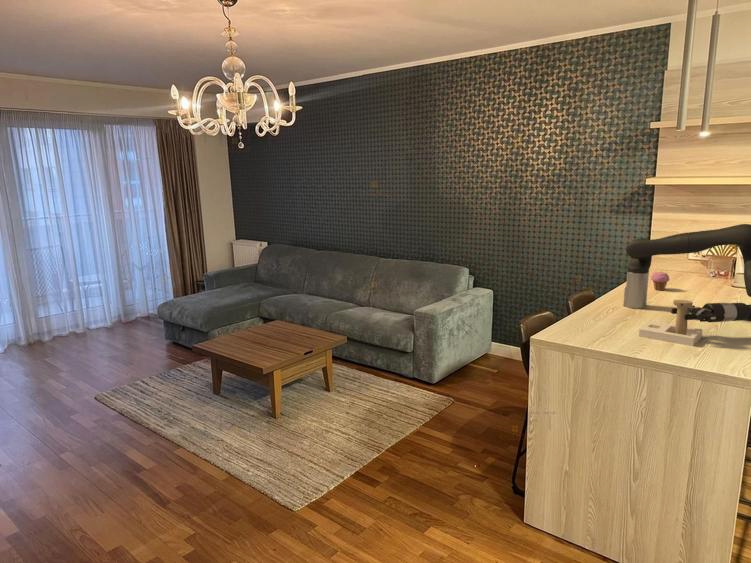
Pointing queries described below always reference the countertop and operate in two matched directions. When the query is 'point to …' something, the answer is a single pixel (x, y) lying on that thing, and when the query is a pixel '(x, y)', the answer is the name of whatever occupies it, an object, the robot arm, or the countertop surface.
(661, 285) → the cupcake
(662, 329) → the plate
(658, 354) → the countertop surface
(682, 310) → the handle
